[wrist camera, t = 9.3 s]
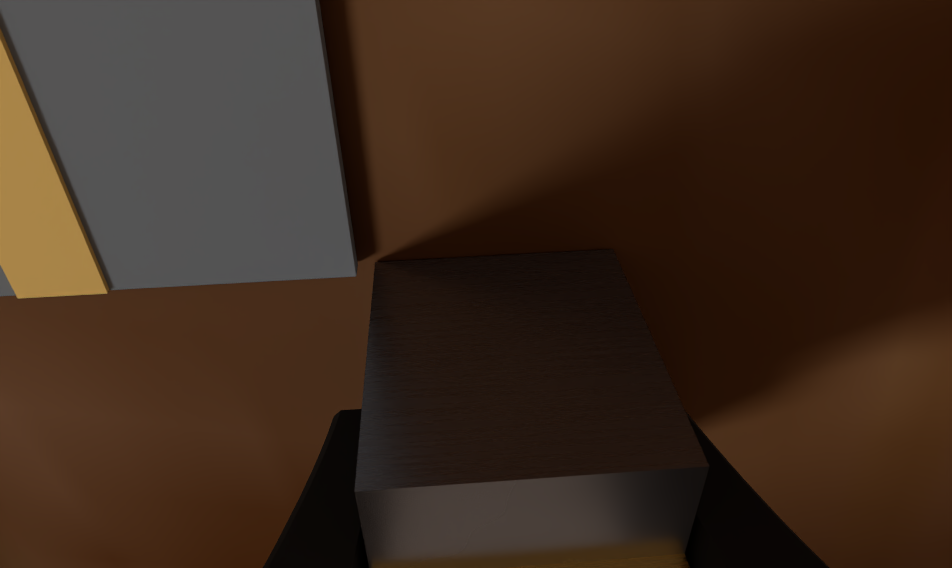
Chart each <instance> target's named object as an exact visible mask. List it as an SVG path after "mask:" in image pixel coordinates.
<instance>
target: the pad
mask: <svg viewBox="0 0 952 568" xmlns="http://www.w3.org/2000/svg"><path fill="white" fill-rule="evenodd" d="M357 266H358V263H357V256H356V250H355V243H354V236H353V229H352V222H351V215H350V208H349V202H348V195H347V188H346V181H345V174H344V167H343V161H342V154H341V147H340V140H339V133H338V126H337V119H336V113H335V106H334V99H333V92H332V85H331V78H330V71H329V65H328V58H327V51H326V44H325V37H324V30H323V23H322V17H321V10H320V3H319V0H0V296H12V295H16V296H17V298H35V297H53V296H71V295H89V294H106V293H108V292H109V290H119V289H137V288H155V287H173V286H191V285H209V284H227V283H244V282H262V281H280V280H298V279H316V278H334V277H352V276H356V274H357Z"/></svg>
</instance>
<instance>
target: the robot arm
mask: <svg viewBox="0 0 952 568" xmlns="http://www.w3.org/2000/svg"><path fill="white" fill-rule="evenodd" d="M685 412H686V411H685ZM361 413H362V409H355V410H341V411H340V412H338V413H337V414H336V415H335V416H334V418H333V420H332V423H331V426H330V429H329V432H328V434H327V437H326V439H325V442H324V444H323V447H322V449H321V452H320V454H319V457H318V459H317V461H316V463H315V466H314V468H313V470H312V472H311V475H310V477H309V479H308V481H307V483H306V485H305V487H304V490H303V492H302V494H301V496H300V498H299V500H298V502H297V504H296V506H295V508H294V510H293V512H292V514H291V516H290V518H289V520H288V522H287V524H286V525H285V527H284V529H283V531H282V533H281V535H280V537H279V539H278V541H277V543H276V545H275V547H274V549H273V551H272V552H271V554H270V556H269V558H268V560H267V561H266V563H265V565H264V567H263V568H369V564H368V558H367V553H366V548H365V543H364V538H363V533H362V528H361V523H360V518H359V513H358V507H357V502H356V497H355V492H354V490H355V479H356V468H357V457H358V446H359V435H360V424H361ZM686 415H687V417H688V419H689V421H690V424H691V426H692V428H693V430H694V433H695V435H696V437H697V439H698V442H699V444H700V446H701V449H702V451H703V453H704V455H705V458H706V460H707V462H708V464H709V470H708V473H707V477H706V480H705V484H704V487H703V491H702V494H701V498H700V501H699V505H698V508H697V512H696V515H695V519H694V522H693V526H692V530H691V533H690V537H689V540H688V544H687V547H686V551H685V556H686V559H687V562H688V564H689V567H690V568H829V567H828V566H827V565H826V564H825V563H824V562H823V561H822V560H821V559H820V558H819V557H818V556H817V555H816V554H815V553H814V552H813V551H812V550H811V549H810V548H809V547H808V546H807V545H806V544H805V543H804V542H803V541H802V540H801V539H800V538H799V537H798V536H797V535H796V534H795V533H794V532H793V531H792V530H791V529H790V528H789V527H788V526H787V525H786V524H785V523H784V522H783V521H782V520H781V519H780V518H779V517H778V515H777V514H776V513H775V512H774V511H773V510H772V509H771V508H770V507H769V506H768V505H767V504H766V503H765V501H764V500H763V499H762V498H761V497H760V496H759V495H758V494H757V493H756V492H755V491H754V490H753V489H752V487H751V486H750V485H749V484H748V483H747V482H746V481H745V480H744V479H743V478H742V477H741V475H740V474H739V473H738V472H737V471H736V470H735V469H734V468H733V466H732V465H731V464H730V463H729V462H728V461H727V460H726V458H725V457H724V456H723V455H722V454H721V453H720V451H719V450H718V449H717V448H716V447H715V446H714V445H713V443H712V442H711V441H710V440H709V439H708V438H707V436H706V435H705V434H704V433H703V432H702V430H701V429H700V428H699V427H698V426H697V425H696V423H695V422H694V421H693V420H692V419H691V417H690V416H689V415H688V414H687V412H686Z"/></svg>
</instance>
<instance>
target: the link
mask: <svg viewBox="0 0 952 568" xmlns="http://www.w3.org/2000/svg"><path fill="white" fill-rule="evenodd" d="M708 470H709V464H708V462H707V460H706V458H705V455H704V453H703V451H702V449H701V446H700V444H699V442H698V439H697V437H696V435H695V433H694V430H693V428H692V426H691V424H690V421H689V419H688V417H687V415H686V412H685V410H684V408H683V406H682V403H681V401H680V399H679V397H678V394H677V392H676V390H675V388H674V385H673V383H672V381H671V379H670V376H669V374H668V372H667V369H666V367H665V365H664V363H663V360H662V358H661V356H660V354H659V351H658V349H657V347H656V345H655V342H654V340H653V338H652V336H651V333H650V331H649V329H648V327H647V324H646V322H645V320H644V318H643V315H642V313H641V311H640V309H639V306H638V304H637V302H636V299H635V297H634V295H633V293H632V290H631V288H630V286H629V284H628V281H627V279H626V277H625V275H624V272H623V270H622V268H621V266H620V263H619V261H618V259H617V257H616V254H615V252H614V250H613V249H608V250H590V251H572V252H554V253H536V254H517V255H499V256H481V257H463V258H444V259H426V260H408V261H390V262H375V269H374V280H373V291H372V303H371V314H370V325H369V336H368V347H367V358H366V369H365V380H364V391H363V402H362V413H361V424H360V435H359V446H358V457H357V468H356V479H355V490H354V492H355V497H356V502H357V507H358V513H359V518H360V523H361V528H362V533H363V538H364V543H365V548H366V553H367V558H368V564H369V568H690V567H689V564H688V562H687V559H686V556H685V551H686V547H687V544H688V540H689V537H690V533H691V530H692V526H693V522H694V519H695V515H696V512H697V508H698V505H699V501H700V498H701V494H702V491H703V487H704V484H705V480H706V477H707V473H708Z"/></svg>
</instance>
